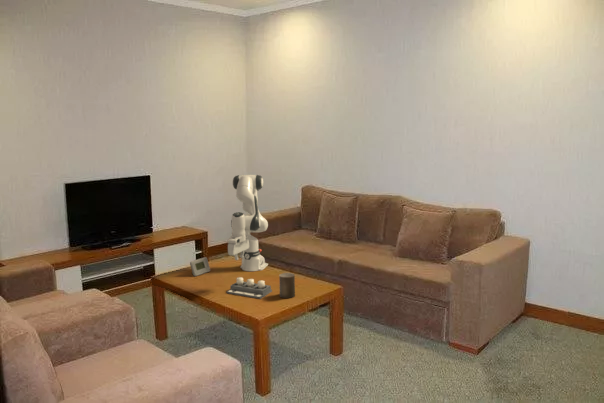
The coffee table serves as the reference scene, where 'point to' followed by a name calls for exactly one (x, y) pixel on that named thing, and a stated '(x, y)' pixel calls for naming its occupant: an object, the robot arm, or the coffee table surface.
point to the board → (249, 290)
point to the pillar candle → (287, 285)
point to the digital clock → (200, 266)
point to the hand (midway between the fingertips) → (239, 258)
